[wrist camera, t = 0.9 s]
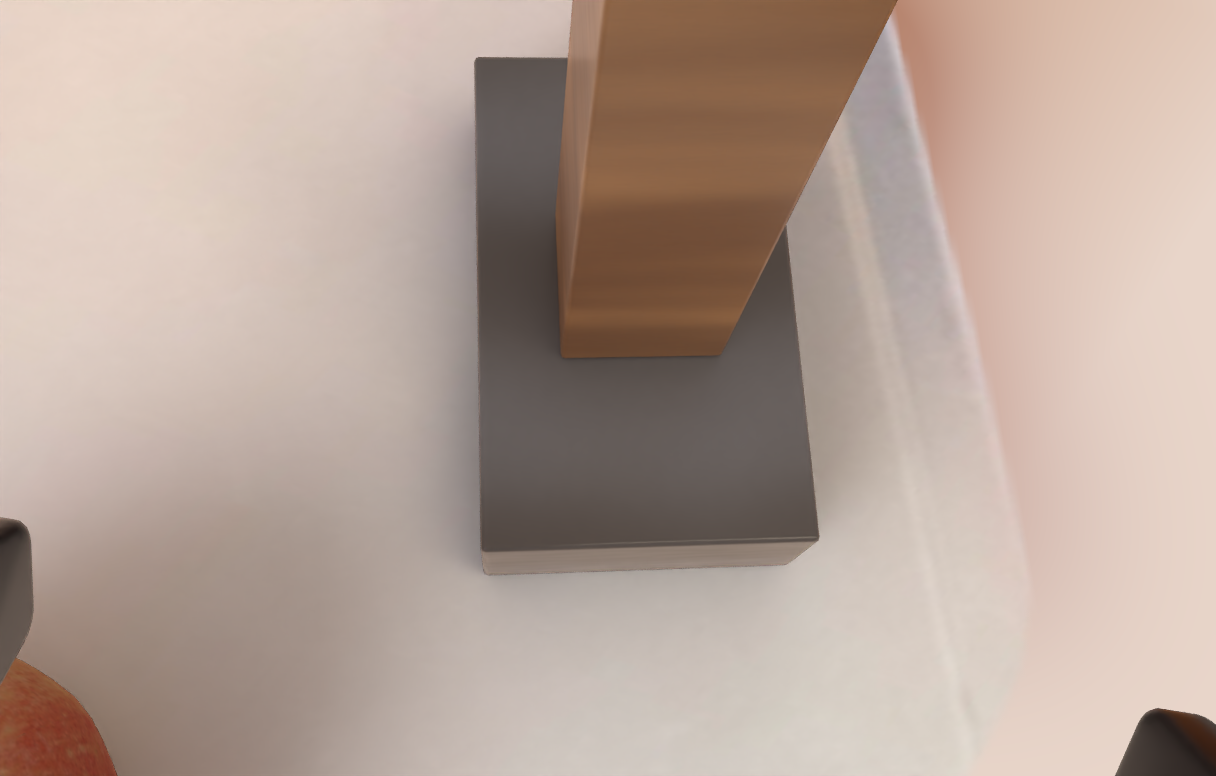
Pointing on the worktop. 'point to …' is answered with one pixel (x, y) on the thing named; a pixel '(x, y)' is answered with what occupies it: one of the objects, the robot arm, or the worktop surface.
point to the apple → (46, 729)
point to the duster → (652, 282)
